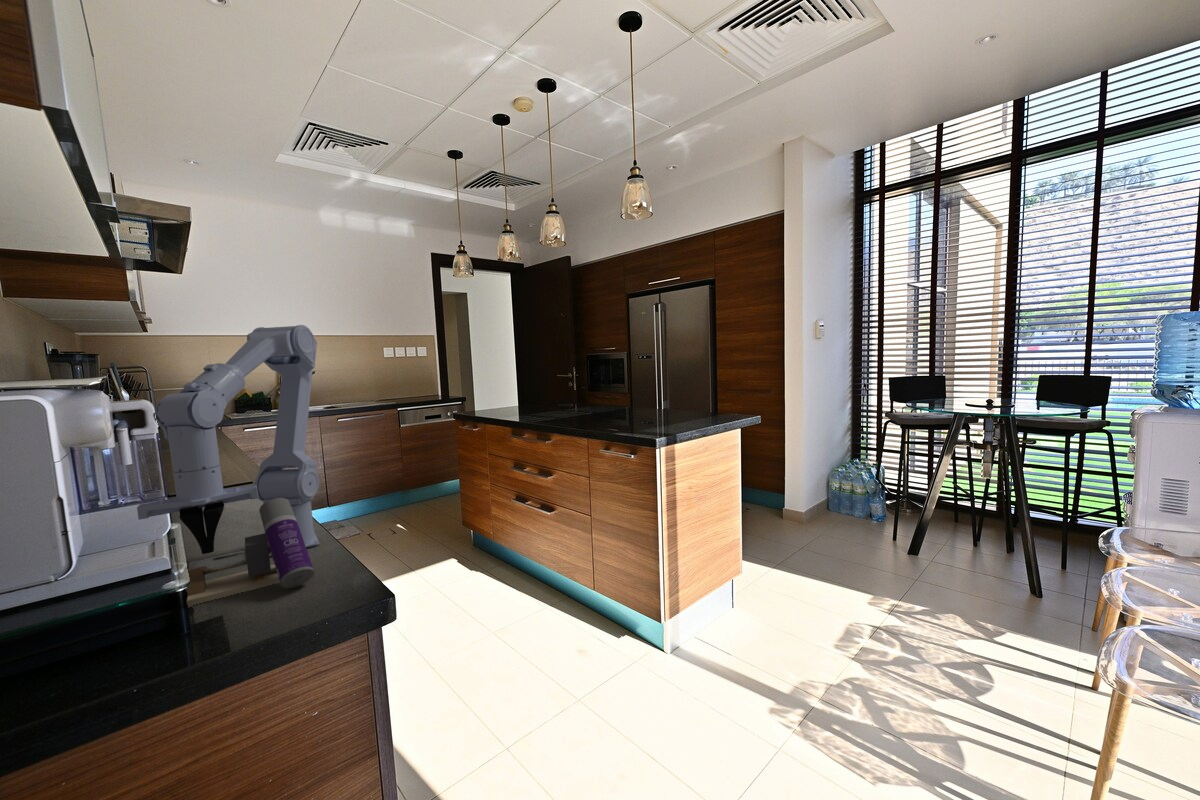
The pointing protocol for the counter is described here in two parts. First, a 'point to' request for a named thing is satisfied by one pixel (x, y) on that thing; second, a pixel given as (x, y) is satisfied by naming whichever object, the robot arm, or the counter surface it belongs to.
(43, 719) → the counter surface
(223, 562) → the dark long bar
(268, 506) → the container
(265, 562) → the upright grey rectangular block
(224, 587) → the base board
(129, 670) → the counter surface
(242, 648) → the counter surface
